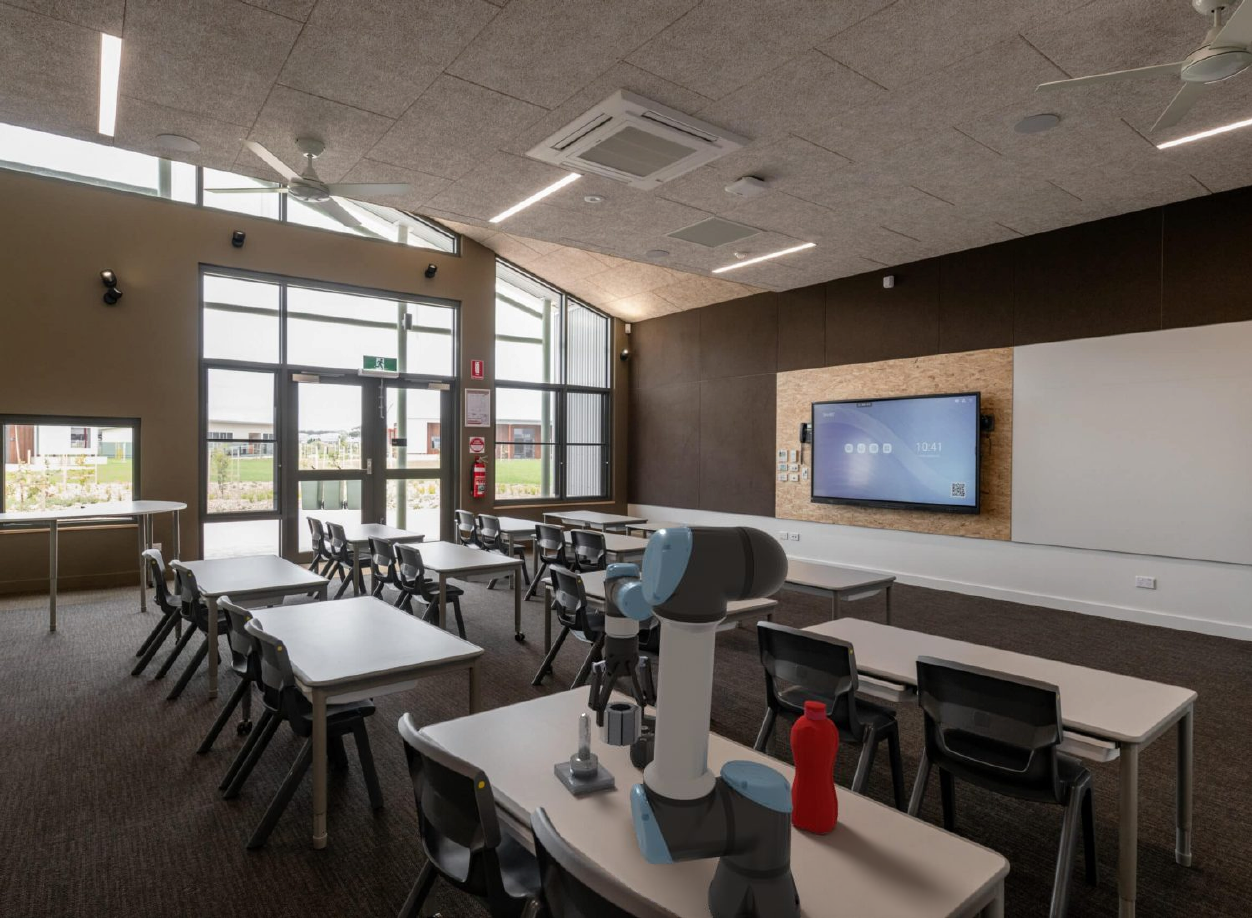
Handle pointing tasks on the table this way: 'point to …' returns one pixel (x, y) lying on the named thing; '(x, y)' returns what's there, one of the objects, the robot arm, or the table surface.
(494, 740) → the table surface
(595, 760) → the shaft block
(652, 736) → the camera
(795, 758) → the water bottle
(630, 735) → the hub
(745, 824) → the robot arm
